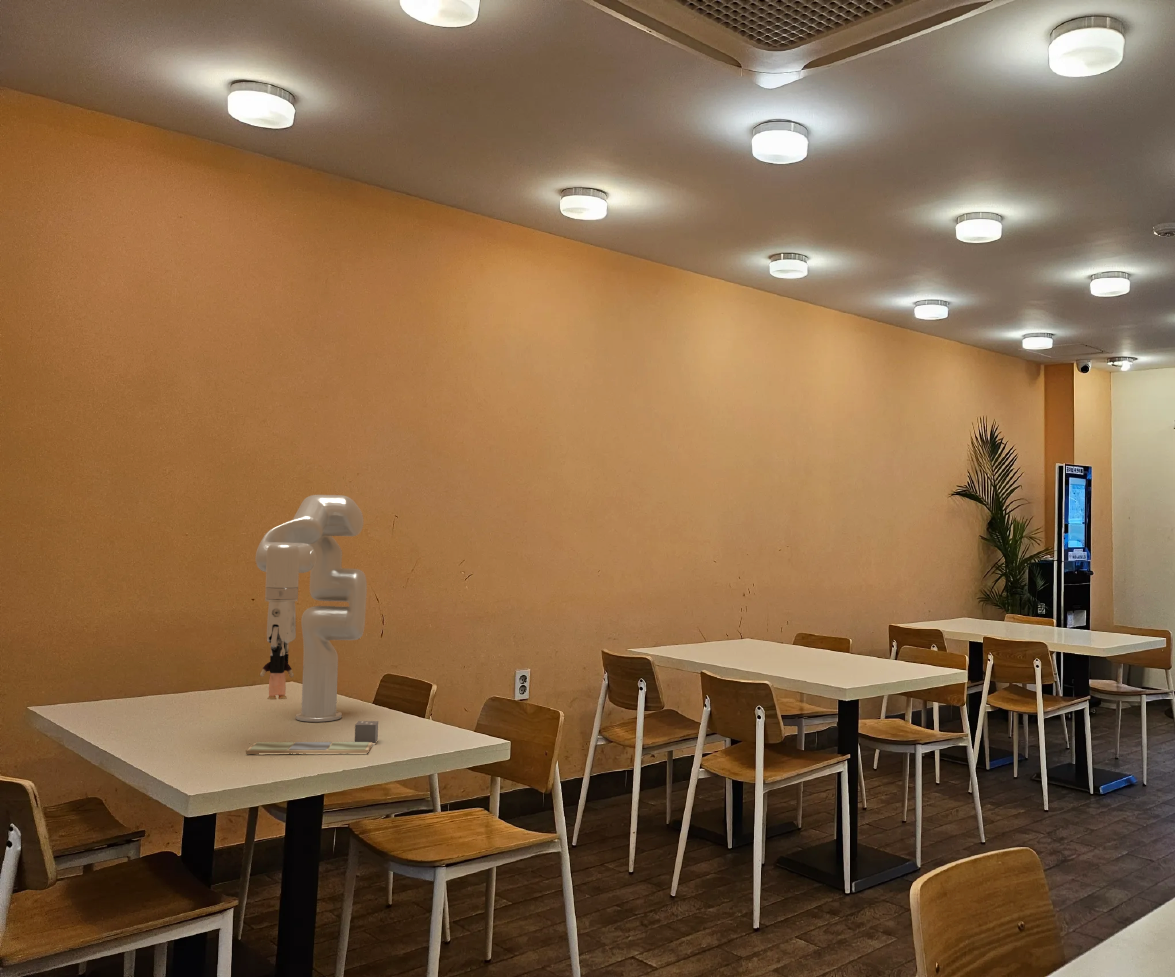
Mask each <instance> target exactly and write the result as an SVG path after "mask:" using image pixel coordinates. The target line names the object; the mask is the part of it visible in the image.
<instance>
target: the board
mask: <svg viewBox="0 0 1175 977" xmlns="http://www.w3.org/2000/svg"><path fill="white" fill-rule="evenodd" d="M371 746H372V747H373V745H372V742H355V741H333V742H332V741H295V742H294V741H284V742H283V741H279V742H278V741H277V742H276V741H275V742H274V741H269V742H268V741H267V742H266V741H265V742H263V741H261V742H260V741H259V742H253V744H251V745H250V747H249V748H247V750H245V755H246V754H259V753H289V754H291V753H292V754H293V753H296V754H299V753H303V754H306V753H368V752H369V753H370V751H371V749H372V748H371ZM370 748H371V749H370ZM369 750H370V751H369ZM369 753H368V754H369Z"/></svg>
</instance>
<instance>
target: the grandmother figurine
mask: <svg viewBox="0 0 1175 977" xmlns="http://www.w3.org/2000/svg"><path fill="white" fill-rule="evenodd" d="M278 646H280V645H278ZM284 655H285V649H284V650H283V656H284ZM284 670H286V671H284V672H283V673H270V661H268V662H267V663H266V664H265V665H264V666H263V667H262V670H261V672H259V673H260V674H259V676H260V677H264V676H265V675H266V674H267V672H269V681H268V697H267V700H270V701H272V700H274V701H275V700H277V699H278V700H286V699H288V697H287V695H286V689H287V688H286V686H287V685H286V682H287V681H286V673H285V672H287V673H288V676H289V677H290V678H294V673H293V670H292V667H291V665H290V664H289V662H288V663H287V662H286V661H284ZM276 696H278V698H277V697H276Z"/></svg>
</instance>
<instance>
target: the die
mask: <svg viewBox="0 0 1175 977" xmlns="http://www.w3.org/2000/svg"><path fill="white" fill-rule="evenodd" d="M354 726H355V727H354V742H372V743H376V741H377V740H378V739H379V738H378V737H379V721H378V720H377V721H376V720H358V721H357V722H356V723H355V725H354ZM378 741H379V740H378ZM378 741H377V742H378ZM376 744H377V743H376Z"/></svg>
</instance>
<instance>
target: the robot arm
mask: <svg viewBox="0 0 1175 977" xmlns="http://www.w3.org/2000/svg"><path fill="white" fill-rule="evenodd" d="M363 528H364V515H363V512H362V510H361V508H360V507H359V506H358V504H357V503H356V502H355V500H354V499H352V498H351V497H350V496H347V495H344V494H343V495H342V494H340V495H339V494H311V495H309V496H307V497H305V498H304V499H303V500H302V502H301V504H300V505H299V507H298V509H297V511H296V512H295V514H294V516H293V518H292V519H291V520H287V521H286V522H284V523H281V524H280V525H277V526H275V527H273V528H271V529H270V530H268V531H267V532H266V533H265V534H264V536H263V537H262V539H261V541H260V542H259V544H258V546H257V549H256V552H255V558H254V559H255V564H256V566H257V568H258V569H259V570H260V571H262V572H265V591H264V592H265V594H264V597H265V598H264V602H268V607H267V608H268V610H267V621H266V641H267V642H268V644H270V657H269V662H270V671H269V674H270V673H283V672H287V671H286V670H284V661H286V662H287V663H288V664H289V647H290V646H289V645H290V644H289V643H291V642H293V641H295V639H296V638H297V636H296V635H297V634H296V631H297V628H296V626H297V625H296V622H297V621H296V620H297V619H296V617H297V615H296V602H298V601H299V600H298V599H299V598H298V597H299V578H300V575H299V574H304V573H305V574H306V573H307V572H310V573H309V574H310V575H309V594H310V597H311V598H312V599H313V600H315V601H318V602H319V601H320V602H321V601H322V602H340V603H341V602H342V603H343V602H346V603H348V606H343V605H341V606H336V605H315V606H310V607H307V609H305V610H304V611H303V613H302V615H301V619H300V620H301V633H302V641H303V642H302V643H303V659H302V660H303V662H302V664H303V665H302V685H301V686H302V687H301V688H302V690H301V691H302V693H301V711H300V712H298V713H296V714H295V720H297V721H300V722H308V723H309V722H310V723H319V722H320V723H321V722H322V723H323V722H332V721H338V720H340V719H341V718H342V717H343V715H342V714H343V713H342V712H340V711H338V710H337V702H338V701H337V699H338V698H337V697H338V692H337V691H338V675H339V674H338V670H339V669H338V668H339V655H338V652H337V650H336V648H335V646H334V645H333V644H332V642H331V641H357V640H360V639H361V638H362V637H363V635H364V631H365V625H366V611H367V610H366V609H367V596H368V595H367V590H368V583H367V577H366V574H365V572H364V571H363V570H361V569H359V568H349V567H348V568H343V567H342V563H343V562H342V561H343V550H342V548H341V546H340V544H339V543H338V542H337V540H336V539H335V538H334V537H357V536H358V535H360V533H361V532H362V531H363ZM278 645H280V646H278ZM284 649H285V655H284V656H283V650H284Z"/></svg>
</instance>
